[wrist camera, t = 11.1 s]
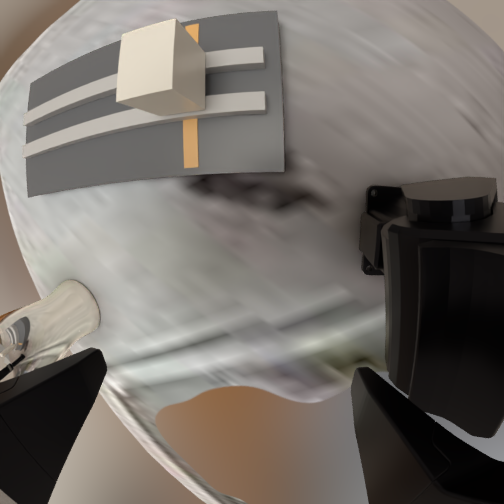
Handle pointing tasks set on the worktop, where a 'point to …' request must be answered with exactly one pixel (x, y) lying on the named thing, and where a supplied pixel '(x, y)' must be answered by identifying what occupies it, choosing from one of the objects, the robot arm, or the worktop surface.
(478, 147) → the worktop surface
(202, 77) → the fader knob
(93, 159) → the fader console
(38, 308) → the beer glass
